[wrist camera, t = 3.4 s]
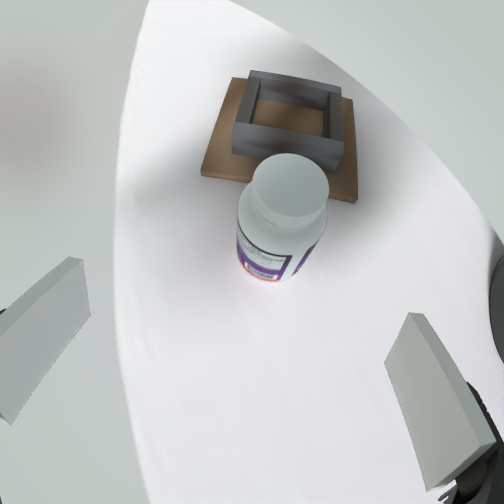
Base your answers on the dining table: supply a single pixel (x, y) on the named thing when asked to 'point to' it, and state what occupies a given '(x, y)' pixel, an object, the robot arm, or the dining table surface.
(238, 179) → the square framed tray
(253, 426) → the dining table surface
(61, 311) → the robot arm
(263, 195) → the pill bottle
